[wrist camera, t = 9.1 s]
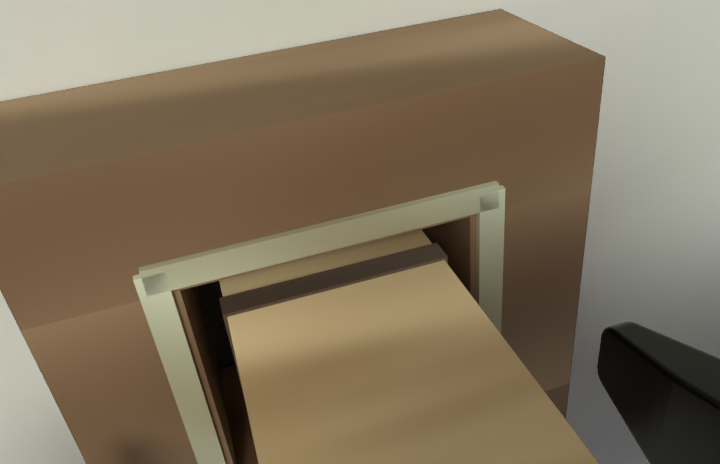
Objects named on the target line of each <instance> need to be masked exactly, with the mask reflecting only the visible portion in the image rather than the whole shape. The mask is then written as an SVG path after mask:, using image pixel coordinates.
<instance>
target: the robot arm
mask: <svg viewBox="0 0 720 464" xmlns="http://www.w3.org/2000/svg"><path fill="white" fill-rule="evenodd" d="M597 369H598V375H599V378H600V380H601V382H602V384H603V386H604V388H605V389H606V391H607V393H608V394H609V396H610V398H611V399H612V401H613V403H614V404H615V406H616V408H617V409H618V411H619V413H620V415H621V416H622V418H623V420H624V421H625V423H626V425H627V426H628V428H629V430H630V431H631V433H632V435H633V436H634V438H635V440H636V441H637V443H638V445H639V446H640V448H641V450H642V451H643V453H644V455H645V456H646V458H647V459H648V461H649V463H650V464H720V359H719V358H717V357H714V356H712V355H709V354H707V353H705V352H702V351H700V350H697V349H695V348H693V347H690V346H688V345H686V344H683V343H681V342H678V341H676V340H674V339H671V338H669V337H667V336H664V335H662V334H659V333H657V332H655V331H652V330H650V329H648V328H645V327H643V326H640V325H638V324H636V323H633V322H624V323H620V324H617V325H614V326H610V327H608V328H606V329H605V330H604V331H603V333H602V336H601V344H600V351H599V358H598V365H597Z"/></svg>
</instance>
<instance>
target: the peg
mask: <svg viewBox="0 0 720 464" xmlns="http://www.w3.org/2000/svg"><path fill="white" fill-rule="evenodd" d="M219 282H220V287H221V292H222V296H223V297H222V298H219V300H220V305H221V310H222V315H223V319H224V322H225V326H226V330H227V334H228V338H229V341H230V345H231V349H232V353H233V356H234V360H235V364H236V368H237V372H238V375H239V379H240V383H241V387H242V390H243V394H244V398H245V403H246V408H247V412H248V417H249V421H250V426H251V431H252V435H253V440H254V445H255V449H256V454H257V459H258V463H259V464H599V463H598V461H597V460H596V459H595V458H594V456H593V455H592V454H591V452H590V451H589V450H588V448H587V447H586V446H585V444H584V443H583V442H582V440H581V439H580V438H579V436H578V435H577V434H576V433H575V431H574V430H573V429H572V427H571V426H570V425H569V423H568V422H567V421H566V419H565V418H564V417H563V415H562V414H561V413H560V411H559V410H558V409H557V408H556V406H555V405H554V404H553V402H552V401H551V400H550V398H549V397H548V396H547V394H546V393H545V392H544V390H543V389H542V388H541V386H540V385H539V384H538V382H537V381H536V380H535V379H534V377H533V376H532V375H531V373H530V372H529V371H528V369H527V368H526V367H525V365H524V364H523V363H522V361H521V360H520V359H519V357H518V356H517V355H516V354H515V352H514V351H513V350H512V348H511V347H510V346H509V344H508V343H507V342H506V340H505V339H504V338H503V336H502V335H501V334H500V332H499V331H498V330H497V329H496V327H495V326H494V325H493V323H492V322H491V321H490V319H489V318H488V317H487V315H486V314H485V313H484V311H483V310H482V309H481V307H480V306H479V305H478V303H477V302H476V301H475V300H474V298H473V297H472V296H471V294H470V293H469V292H468V290H467V289H466V288H465V286H464V285H463V284H462V282H461V281H460V280H459V278H458V277H457V276H456V275H455V273H454V272H453V271H452V269H451V268H450V267H449V265H448V256H447V255H446V254H445V252H444V251H443V250H442V249H441V247H440V246H439V245H438V243H433V244H432V243H431V242H430V240H429V239H428V238H427V236H426V235H425V234H424V232H423V231H422V230H417V231H413V232H409V233H405V234H401V235H397V236H393V237H389V238H385V239H381V240H377V241H373V242H369V243H366V244H362V245H358V246H354V247H350V248H346V249H342V250H338V251H334V252H330V253H326V254H322V255H318V256H314V257H310V258H306V259H302V260H298V261H295V262H291V263H287V264H283V265H279V266H275V267H271V268H267V269H263V270H259V271H255V272H251V273H247V274H243V275H239V276H235V277H231V278H227V279H223V280H220V281H219Z"/></svg>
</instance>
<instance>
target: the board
mask: <svg viewBox="0 0 720 464" xmlns="http://www.w3.org/2000/svg"><path fill="white" fill-rule="evenodd" d="M605 58H606V57H605V56H603V55H600V54H598V53H596V52H594V51H592V50H589V49H587V48H585V47H583V46H581V45H578V44H576V43H574V42H572V41H570V40H567V39H565V38H563V37H561V36H559V35H557V34H554V33H552V32H550V31H548V30H546V29H543V28H541V27H539V26H537V25H535V24H532V23H530V22H528V21H526V20H524V19H522V18H519V17H517V16H515V15H513V14H511V13H508V12H506V11H504V10H502V9H498V10H493V11H487V12H482V13H476V14H471V15H466V16H460V17H455V18H450V19H444V20H439V21H433V22H428V23H423V24H417V25H412V26H406V27H401V28H396V29H390V30H385V31H379V32H374V33H369V34H363V35H358V36H352V37H347V38H342V39H336V40H331V41H325V42H320V43H315V44H309V45H304V46H298V47H293V48H288V49H282V50H277V51H272V52H266V53H261V54H255V55H250V56H245V57H239V58H234V59H228V60H223V61H218V62H212V63H207V64H201V65H196V66H191V67H185V68H180V69H174V70H169V71H164V72H158V73H153V74H147V75H142V76H137V77H131V78H126V79H120V80H115V81H110V82H104V83H99V84H94V85H88V86H83V87H77V88H72V89H67V90H61V91H56V92H50V93H45V94H40V95H34V96H29V97H23V98H18V99H13V100H7V101H2V102H0V290H1V292H2V294H3V296H4V298H5V300H6V302H7V304H8V306H9V308H10V310H11V312H12V314H13V316H14V318H15V320H16V323H17V325H18V327H19V329H20V331H21V333H22V335H23V337H24V339H25V341H26V343H27V345H28V347H29V349H30V351H31V353H32V355H33V357H34V359H35V361H36V363H37V365H38V367H39V369H40V371H41V373H42V375H43V377H44V379H45V381H46V383H47V385H48V387H49V389H50V391H51V393H52V395H53V397H54V399H55V401H56V403H57V405H58V407H59V409H60V411H61V413H62V415H63V417H64V419H65V421H66V423H67V425H68V427H69V429H70V432H71V434H72V436H73V438H74V440H75V442H76V444H77V446H78V448H79V450H80V452H81V454H82V456H83V458H84V460H85V462H86V464H259V463H258V459H257V454H256V449H255V445H254V440H253V435H252V431H251V426H250V421H249V417H248V412H247V408H246V403H245V398H244V394H243V390H242V387H241V383H240V379H239V375H238V372H237V368H236V365H232V366H229V367H225V368H221V369H219V367H218V363H217V360H216V356H215V353H214V350H213V346H212V343H211V339H210V336H209V332H208V329H207V325H206V322H205V319H204V315H203V312H202V308H201V305H200V301H199V298H198V295H197V291H196V288H195V287H196V286H200V285H204V284H208V283H212V282H216V281H220V280H223V279H227V278H231V277H235V276H239V275H243V274H247V273H251V272H255V271H259V270H263V269H267V268H271V267H275V266H279V265H283V264H287V263H291V262H295V261H298V260H302V259H306V258H310V257H314V256H318V255H322V254H326V253H330V252H334V251H338V250H342V249H346V248H350V247H354V246H358V245H362V244H366V243H369V242H373V241H377V240H381V239H385V238H389V237H393V236H397V235H401V234H405V233H409V232H413V231H417V230H422V231H423V232H424V234H425V235H426V236H427V238H428V239H429V240H430V242H431V243H432V244H433V243H438V245H439V246H440V247H441V249H442V250H443V251H444V252H445V254H446V255H447V256H448V265H449V267H450V268H451V269H452V271H453V272H454V273H455V275H456V276H457V277H458V278H459V280H460V281H461V282H462V284H463V285H464V286H465V288H466V289H467V290H468V292H469V293H470V294H471V296H472V297H473V298H474V300H475V301H476V302H477V303H478V305H479V306H480V307H481V309H482V310H483V311H484V313H485V314H486V315H487V317H488V318H489V319H490V321H491V322H492V323H493V325H494V326H495V327H496V329H497V330H498V331H499V332H500V334H501V335H502V336H503V338H504V339H505V340H506V342H507V343H508V344H509V346H510V347H511V348H512V350H513V351H514V352H515V354H516V355H517V356H518V357H519V359H520V360H521V361H522V363H523V364H524V365H525V367H526V368H527V369H528V371H529V372H530V373H531V375H532V376H533V377H534V379H535V380H536V381H537V382H538V384H539V385H540V386H541V388H542V389H543V390H544V392H545V393H546V394H547V396H548V397H549V398H550V400H551V401H552V402H553V404H554V405H555V406H556V408H557V409H558V410H559V411H560V413H561V414H562V415H563V417H564V418H565V419H566V410H567V401H568V392H569V383H570V374H571V365H572V355H573V346H574V337H575V328H576V319H577V310H578V301H579V292H580V283H581V274H582V265H583V256H584V247H585V238H586V229H587V220H588V211H589V202H590V193H591V184H592V175H593V166H594V157H595V148H596V139H597V130H598V121H599V112H600V103H601V94H602V85H603V76H604V67H605Z"/></svg>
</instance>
